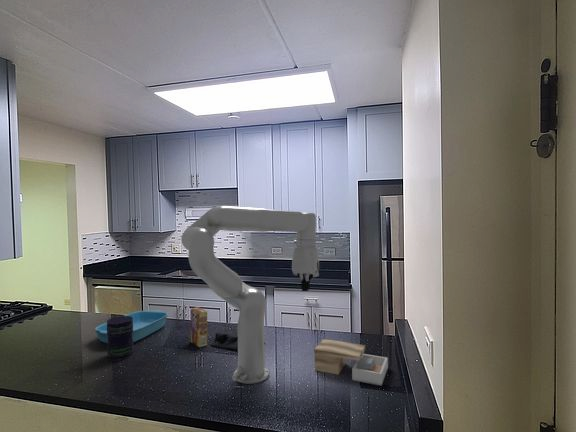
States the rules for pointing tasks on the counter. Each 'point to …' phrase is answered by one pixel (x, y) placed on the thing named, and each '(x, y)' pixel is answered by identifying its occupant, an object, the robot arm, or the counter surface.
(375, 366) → the terracotta tile
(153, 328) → the casserole dish
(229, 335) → the black flat block
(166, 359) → the counter surface
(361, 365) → the slate tile
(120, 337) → the storage jar
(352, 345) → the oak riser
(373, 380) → the tray
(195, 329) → the candy box
